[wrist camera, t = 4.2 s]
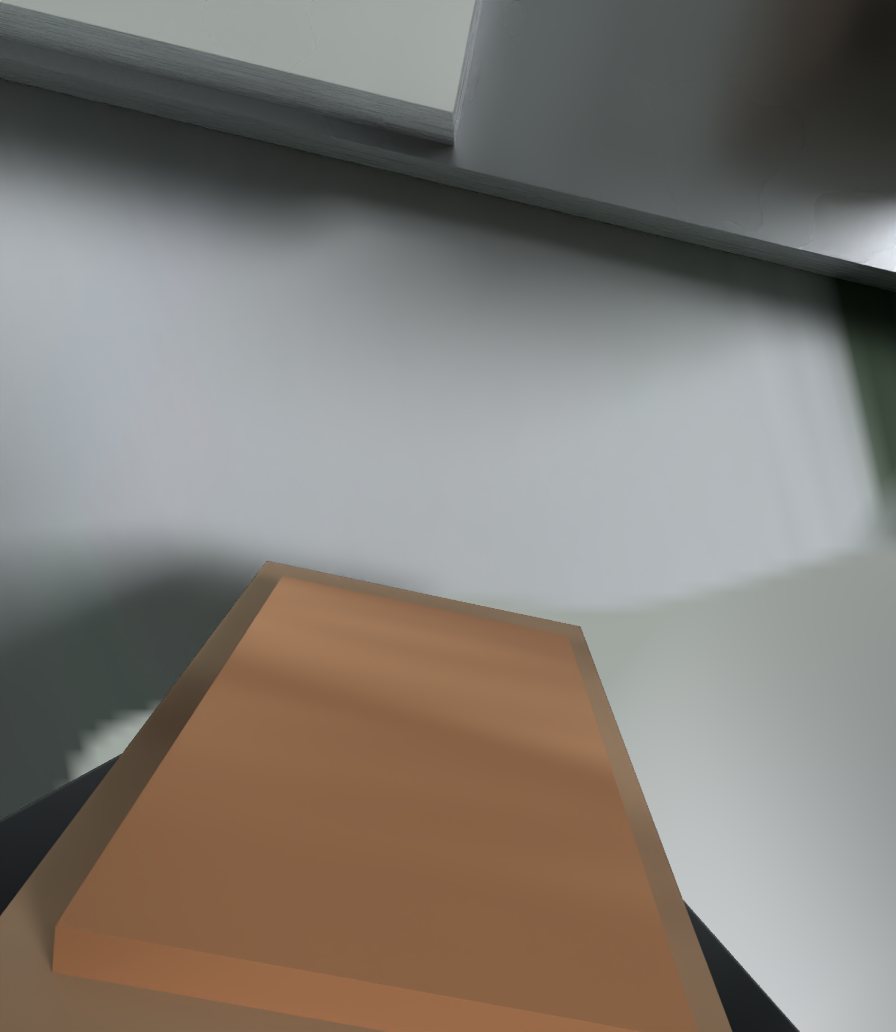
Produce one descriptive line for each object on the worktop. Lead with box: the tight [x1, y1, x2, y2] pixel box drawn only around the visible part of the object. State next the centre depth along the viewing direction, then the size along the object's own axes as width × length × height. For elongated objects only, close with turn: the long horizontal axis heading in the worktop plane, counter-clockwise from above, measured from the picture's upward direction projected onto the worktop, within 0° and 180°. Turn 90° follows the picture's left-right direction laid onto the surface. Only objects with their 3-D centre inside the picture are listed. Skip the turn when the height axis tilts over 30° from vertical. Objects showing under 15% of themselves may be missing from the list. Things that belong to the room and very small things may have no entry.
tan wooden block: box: [0, 561, 732, 1032], centre depth 6 cm, size 4×4×6 cm
